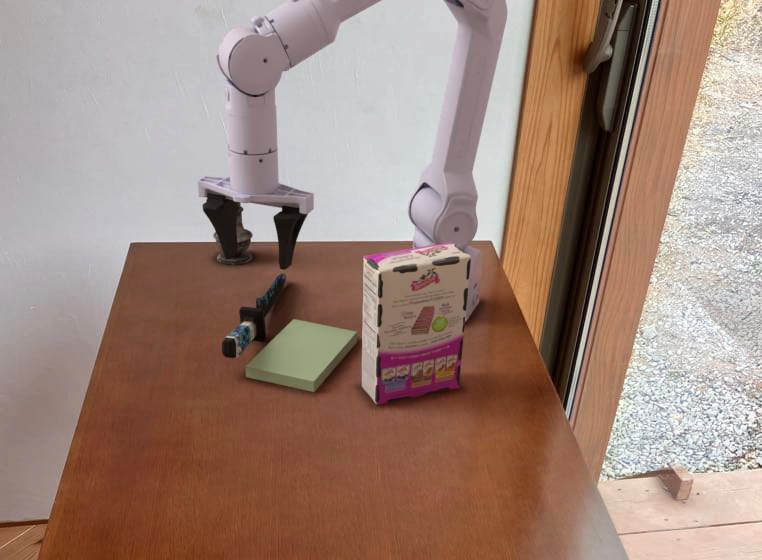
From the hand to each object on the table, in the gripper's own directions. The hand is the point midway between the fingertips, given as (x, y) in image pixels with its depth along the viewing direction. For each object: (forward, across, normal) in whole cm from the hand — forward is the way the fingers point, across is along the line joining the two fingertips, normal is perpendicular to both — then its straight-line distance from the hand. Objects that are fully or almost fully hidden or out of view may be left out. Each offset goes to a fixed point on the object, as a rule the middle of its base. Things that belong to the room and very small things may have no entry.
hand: (258, 261), depth 111 cm
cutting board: (+9, +8, -6) cm, 14 cm away
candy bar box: (+9, +23, -7) cm, 26 cm away
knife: (+9, 0, 0) cm, 9 cm away
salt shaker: (+9, -14, +20) cm, 26 cm away
